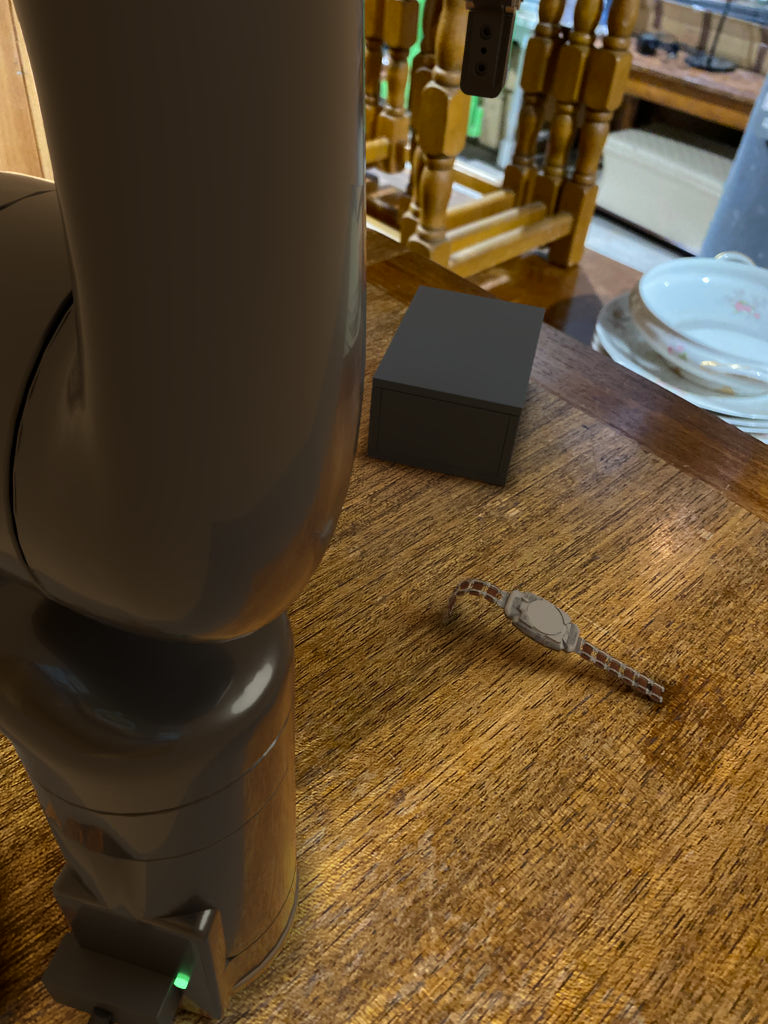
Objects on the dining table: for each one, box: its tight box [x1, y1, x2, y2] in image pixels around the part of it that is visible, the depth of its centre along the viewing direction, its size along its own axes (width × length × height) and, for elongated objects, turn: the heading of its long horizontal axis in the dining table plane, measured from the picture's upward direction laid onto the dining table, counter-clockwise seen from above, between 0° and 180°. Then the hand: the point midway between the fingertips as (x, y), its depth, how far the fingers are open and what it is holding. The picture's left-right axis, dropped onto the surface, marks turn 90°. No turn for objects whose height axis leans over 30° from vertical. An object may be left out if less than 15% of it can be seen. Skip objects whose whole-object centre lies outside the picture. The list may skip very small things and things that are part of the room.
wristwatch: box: [442, 578, 665, 704], centre depth 50 cm, size 4×14×5 cm, turn 67°
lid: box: [371, 285, 546, 417], centre depth 65 cm, size 16×12×1 cm
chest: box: [366, 382, 530, 487], centre depth 67 cm, size 16×12×7 cm
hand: (481, 93), depth 41 cm, fingers closed
